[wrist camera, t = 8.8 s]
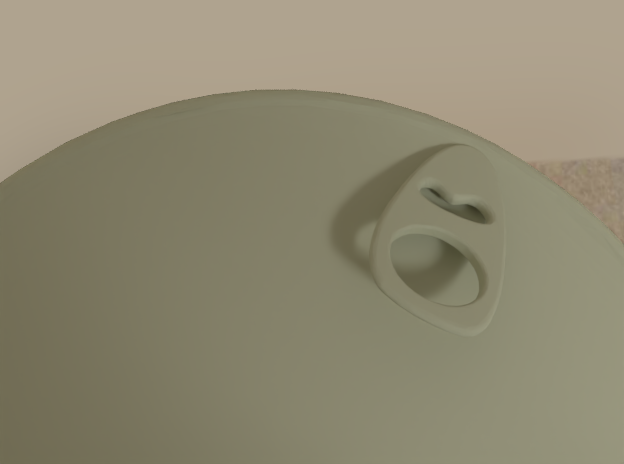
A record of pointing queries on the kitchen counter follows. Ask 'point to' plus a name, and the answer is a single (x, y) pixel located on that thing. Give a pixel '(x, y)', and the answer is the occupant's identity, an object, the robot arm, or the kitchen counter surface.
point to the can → (303, 294)
